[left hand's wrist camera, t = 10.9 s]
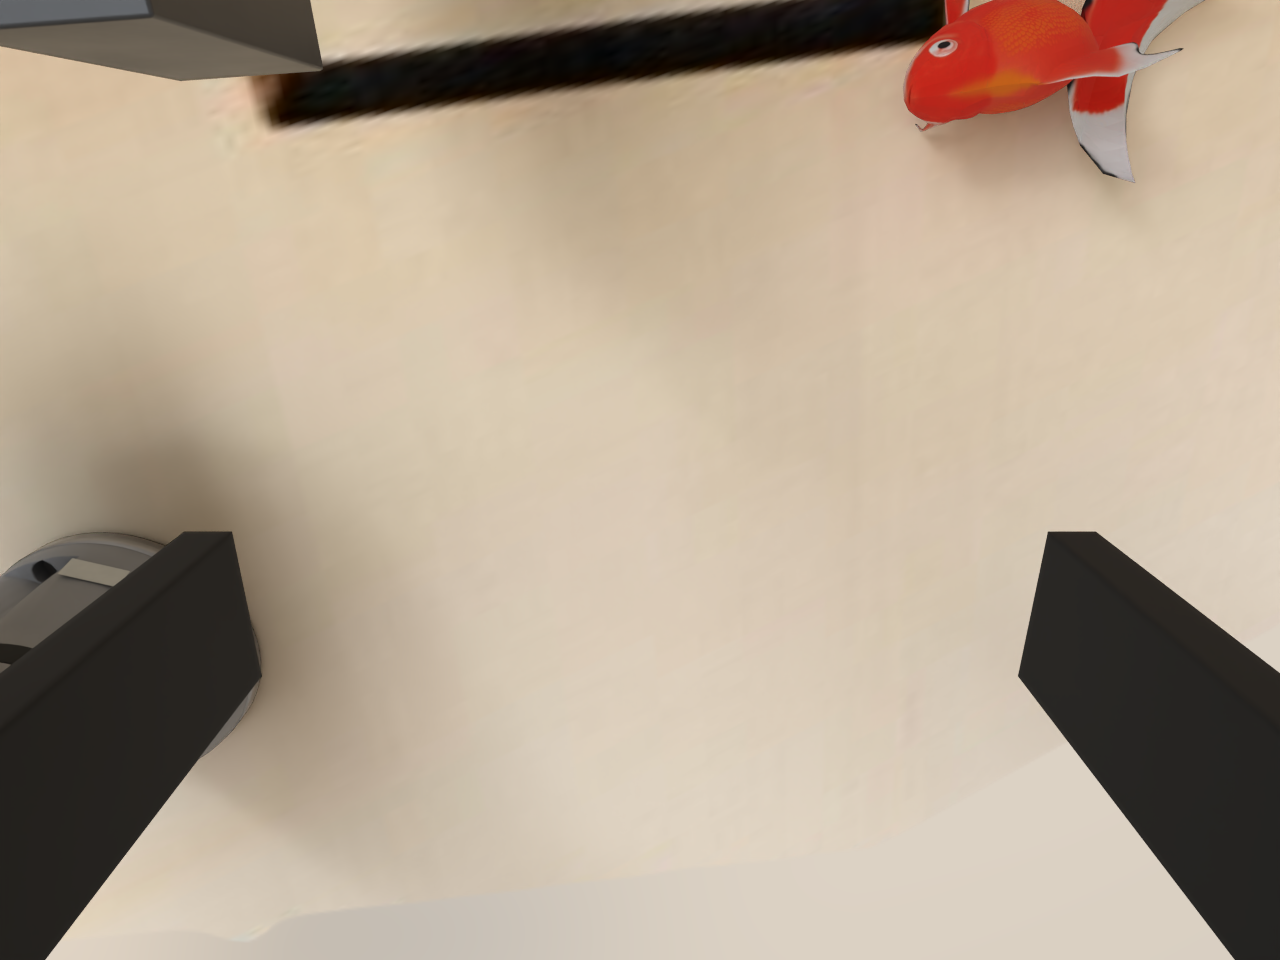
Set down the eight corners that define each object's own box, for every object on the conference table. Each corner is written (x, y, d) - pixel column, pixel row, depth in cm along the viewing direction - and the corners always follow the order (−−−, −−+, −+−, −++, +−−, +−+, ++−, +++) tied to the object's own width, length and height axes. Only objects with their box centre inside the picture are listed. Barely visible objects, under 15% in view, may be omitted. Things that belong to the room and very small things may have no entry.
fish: (896, -184, 28) (1122, -169, 22) (1169, -135, 35) (1412, -111, 28) (820, 125, 35) (975, 209, 29) (1059, 121, 41) (1233, 190, 35)
